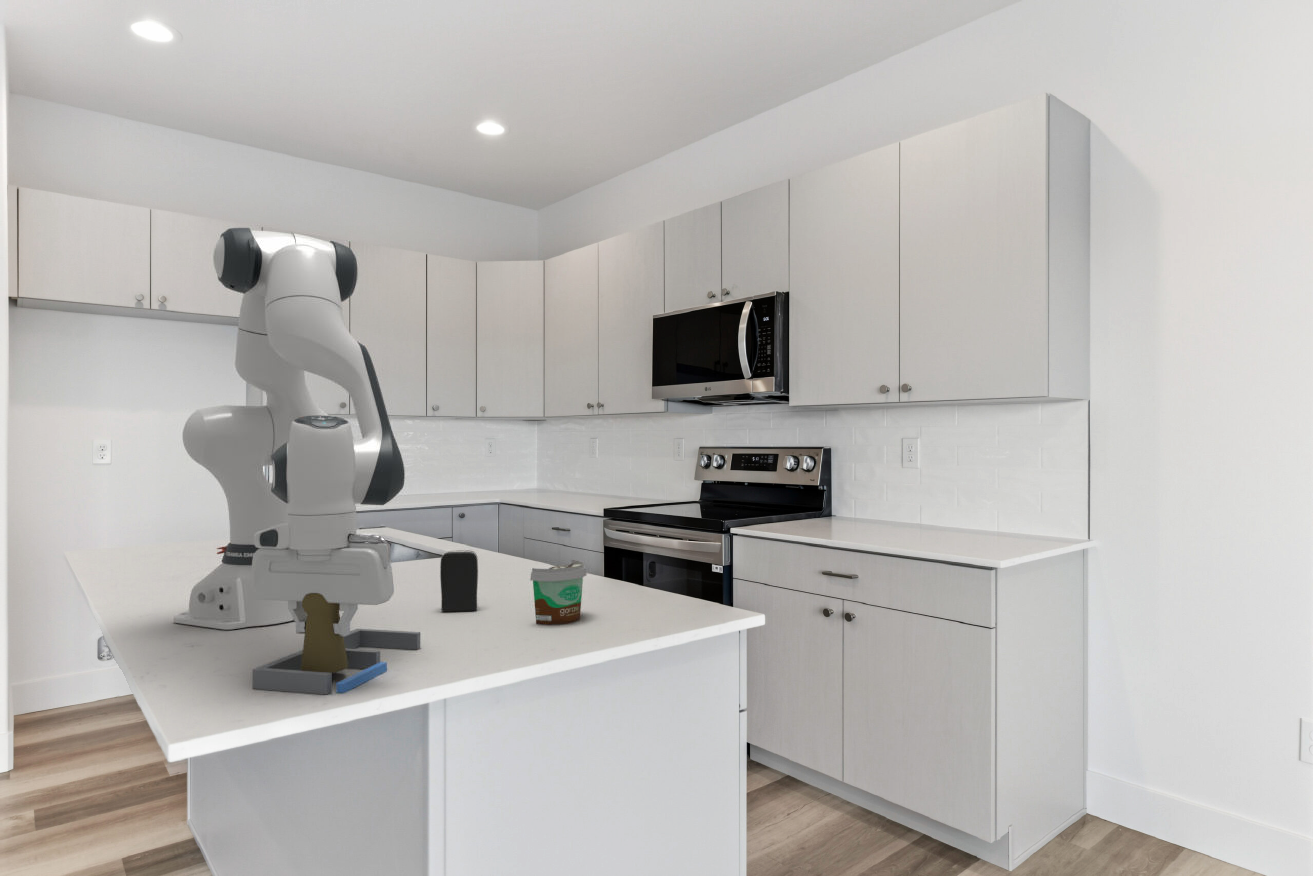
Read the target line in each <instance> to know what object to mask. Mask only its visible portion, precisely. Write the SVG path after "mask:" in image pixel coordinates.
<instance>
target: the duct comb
mask: <svg viewBox="0 0 1313 876" xmlns="http://www.w3.org/2000/svg"><path fill="white" fill-rule="evenodd" d="M343 638H344V644H345V650H346V656H347V662H348V667H347V668H346V669H353V670H354V669H358V670H361V671H358V672H356V673H355V674H353V675H351V676H349V677H347V678H344V679H342V680H339V681H338V682H336V685H335V686H336V692H335V693H338V694H344V693H346V692H348V691H350V690H352V689H354V688H356V687H357V686H360V685H362V684H364V683H366V682H368V681H369V680H372V679H374V678H375V677H379V675H381V674H383V673H386V672H387V671H388V662H386V661H385V662H384V661H381V650H377V649H375V650H374V649H359V647H365V648H366V647H369V648H383V649H399V650H414V651H417V650H420V649H421V631H404V630H386V629H385V630H384V629H372V628H356V629H353V630H350V633H349V634H348V635H346V636H343ZM302 654H303V649H302V650H301V649H300V651H297V652H294V653H291V654H289V655H287V656H284V657H282V658H279V659H275V660H274V661H271V662H268V663H267V664H263V665H260V666H258V667H256V668H253V669H251V671H252V672H251V673H252V689H253V690H263V691H264V690H267V691H275V692H276V691H278V692H290V693H291V692H292V693H301V694H302V693H303V694H312V695H313V694H315V695H328V694H332V692H333V690H332V689H333V688H332V687H333V686H332V683H333V682H332V680H333V679H332V678H333V677H332V676H333V675H332V674H333V673H326V672H312V671H301V663H302Z"/></svg>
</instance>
